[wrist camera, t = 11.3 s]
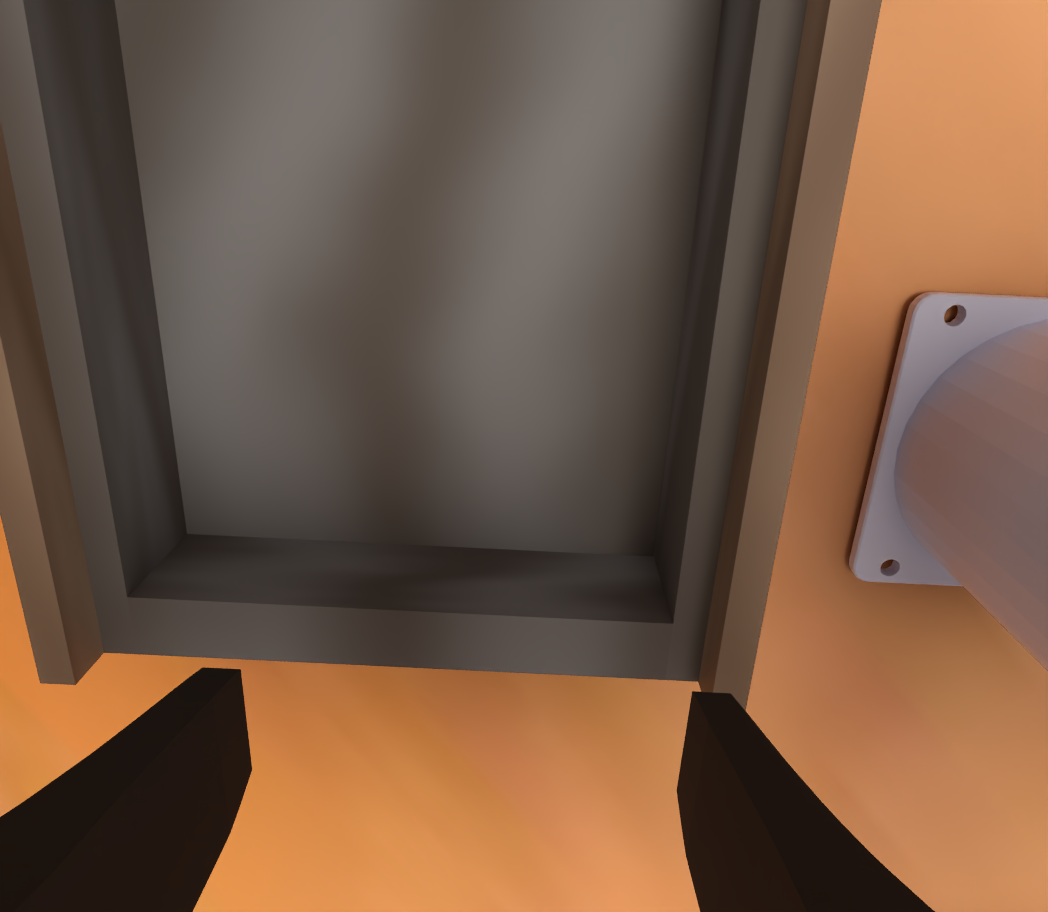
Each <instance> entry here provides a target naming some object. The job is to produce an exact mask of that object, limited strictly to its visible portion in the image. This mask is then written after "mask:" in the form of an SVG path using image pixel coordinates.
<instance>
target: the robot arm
mask: <svg viewBox="0 0 1048 912" xmlns="http://www.w3.org/2000/svg"><path fill="white" fill-rule="evenodd" d="M953 305H956V306H957V307H958V313H957V315H956V317H955V319H953V320H952V321H951V322H948V323H945V321H944V314H945V312H946V311H947V309H948V308H950V307H951V306H953ZM891 559H893V563H892V565H891V566H889V567H888V568H885V569H880V567H881V565H882V564H883V563H884V562H885V561H887V560H891ZM849 567H850V569H851V570H852V572H853V573H854V575H855V576H856V577H857V578H859V579H860V580H862V581H867V582H885V583H905V584H926V585H946V586H963V587H964V588H965V589H966V590H967V591H968V592H969V593H970V594H971V595H972V596H973V597H974V598H975V599H976V600H977V601H978V602H979V603H980V604H981V605H982V606H983V607H984V608H985V609H986V610H987V611H988V612H989V613H990V614H991V615H992V616H993V617H994V618H995V619H996V620H997V621H998V622H999V623H1000V624H1001V625H1002V626H1003V627H1004V628H1005V629H1006V630H1007V631H1008V632H1009V633H1010V634H1011V635H1012V636H1013V637H1014V638H1015V639H1016V640H1017V641H1018V642H1019V643H1020V644H1021V645H1022V646H1023V647H1024V648H1025V649H1026V650H1027V651H1028V652H1029V653H1030V654H1031V655H1032V656H1033V657H1034V658H1035V659H1036V660H1037V661H1038V662H1039V663H1040V664H1041V665H1042V666H1043V667H1044V668H1045V669H1046V670H1047V671H1048V297H1036V296H1015V295H995V294H974V293H954V292H933V291H932V292H925V293H923V294H921V295H919V296H917V297H916V298H915V299H914V300H913V301H912V302H911V304H910V306H909V308H908V311H907V315H906V319H905V323H904V328H903V332H902V336H901V340H900V345H899V349H898V353H897V358H896V362H895V366H894V370H893V375H892V379H891V383H890V387H889V392H888V396H887V400H886V405H885V409H884V413H883V417H882V422H881V426H880V430H879V434H878V439H877V443H876V447H875V452H874V456H873V460H872V464H871V469H870V473H869V477H868V481H867V486H866V490H865V494H864V499H863V503H862V507H861V511H860V516H859V520H858V524H857V528H856V533H855V537H854V541H853V546H852V550H851V554H850V558H849ZM251 771H252V765H251V756H250V747H249V739H248V730H247V721H246V712H245V704H244V695H243V686H242V678H241V669H222V668H201V669H200V670H199V671H197V672H196V673H195V674H193V675H192V676H191V677H189V678H188V679H187V680H185V681H184V682H183V683H182V684H180V685H179V686H178V687H176V688H175V689H174V690H173V691H171V692H170V693H169V694H168V695H166V696H165V697H164V698H163V699H161V700H160V701H159V702H157V703H156V704H155V705H154V706H152V707H151V708H150V709H149V710H147V711H146V712H145V713H144V714H142V715H141V716H140V717H138V718H137V719H136V720H135V721H133V722H132V723H131V724H129V725H128V726H127V727H126V728H124V729H123V730H122V731H120V732H119V733H118V734H116V735H115V736H114V737H112V738H111V739H110V740H109V741H107V742H106V743H105V744H103V745H102V746H101V747H99V748H98V749H97V750H96V751H94V752H93V753H92V754H90V755H89V756H88V757H86V758H85V759H83V760H82V761H80V762H79V763H78V764H76V765H75V766H73V767H72V768H71V769H69V770H68V771H66V772H65V773H64V774H62V775H61V776H59V777H58V778H57V779H55V780H54V781H52V782H51V783H49V784H48V785H47V786H45V787H44V788H42V789H41V790H40V791H38V792H37V793H35V794H34V795H33V796H31V797H30V798H28V799H27V800H25V801H24V802H23V803H21V804H20V805H18V806H16V807H15V808H13V809H12V810H10V811H9V812H7V813H6V814H4V815H3V816H1V817H0V912H193V909H194V907H195V905H196V903H197V901H198V899H199V897H200V895H201V893H202V891H203V889H204V887H205V885H206V883H207V881H208V879H209V877H210V874H211V872H212V870H213V868H214V866H215V864H216V862H217V860H218V858H219V856H220V854H221V852H222V849H223V847H224V845H225V843H226V841H227V839H228V837H229V834H230V832H231V829H232V827H233V824H234V821H235V818H236V815H237V813H238V810H239V807H240V804H241V801H242V798H243V795H244V792H245V789H246V786H247V783H248V780H249V777H250V774H251ZM677 795H678V803H679V810H680V818H681V825H682V832H683V839H684V845H685V852H686V857H687V861H688V865H689V869H690V873H691V877H692V881H693V885H694V889H695V893H696V897H697V901H698V905H699V908H700V912H935V911H933V910H932V909H931V908H930V907H929V906H928V905H927V904H925V903H924V902H923V901H922V900H921V899H920V898H919V897H918V896H917V895H916V894H914V893H913V892H912V891H911V890H910V889H909V888H908V887H907V886H906V885H904V884H903V883H902V882H901V881H900V880H899V879H898V878H897V877H896V876H894V875H893V874H892V873H891V872H890V871H889V870H888V869H887V868H886V867H885V866H884V865H883V864H882V863H881V862H879V861H878V860H877V859H876V858H875V857H874V856H873V855H872V854H871V853H870V852H869V851H868V850H867V849H866V848H865V847H864V846H863V845H862V844H861V843H860V842H859V841H858V840H857V839H856V838H855V837H854V836H853V835H852V834H851V833H850V832H849V830H848V829H847V828H846V827H845V826H844V825H843V824H842V823H841V822H840V821H839V820H838V819H837V818H836V817H835V816H834V815H833V814H832V813H831V811H830V810H829V809H828V808H827V807H826V806H825V805H824V804H823V803H822V802H821V800H820V799H819V798H818V797H817V796H816V795H815V794H814V793H813V791H812V790H811V789H810V788H809V787H808V786H807V785H806V783H805V782H804V781H803V780H802V779H801V778H800V777H799V775H798V774H797V773H796V772H795V771H794V770H793V768H792V767H791V766H790V765H789V764H788V763H787V761H786V760H785V759H784V758H783V757H782V755H781V754H780V753H779V752H778V751H777V749H776V748H775V747H774V746H773V744H772V743H771V742H770V741H769V740H768V738H767V737H766V736H765V735H764V733H763V732H762V731H761V730H760V728H759V727H758V726H757V725H756V723H755V722H754V721H753V720H752V719H751V717H750V716H749V715H748V714H747V712H746V711H745V710H744V709H743V707H742V706H741V705H740V704H739V702H738V701H737V700H736V699H735V698H734V697H733V695H732V694H731V693H714V692H693V691H692V697H691V703H690V710H689V716H688V722H687V729H686V735H685V741H684V748H683V754H682V760H681V767H680V773H679V780H678V786H677Z"/></svg>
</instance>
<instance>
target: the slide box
mask: <svg viewBox="0 0 1048 912" xmlns="http://www.w3.org/2000/svg"><path fill="white" fill-rule="evenodd" d="M881 2H882V0H0V515H1V519H2V523H3V527H4V532H5V536H6V540H7V544H8V549H9V553H10V557H11V561H12V566H13V570H14V574H15V578H16V582H17V587H18V591H19V595H20V599H21V604H22V608H23V612H24V616H25V621H26V625H27V629H28V633H29V638H30V642H31V646H32V650H33V654H34V659H35V663H36V667H37V671H38V676H39V680H40V683H48V684H68V685H76V684H77V683H78V681H79V680H80V679H81V678H82V677H83V676H84V675H85V673H86V672H87V671H88V670H89V669H90V668H91V667H92V666H93V664H94V663H95V662H96V661H97V660H98V659H99V658H100V657H101V655H102V654H103V653H124V654H145V655H165V656H186V657H206V658H227V659H247V660H268V661H288V662H309V663H330V664H350V665H371V666H391V667H412V668H432V669H453V670H473V671H494V672H514V673H535V674H555V675H576V676H596V677H617V678H637V679H658V680H678V681H698V682H699V685H700V688H701V692H714V693H731V694H732V695H733V697H734V698H735V699H736V700H737V701H738V702H739V704H740V705H741V706H742V707H743V709H744V710H746V705H747V700H748V694H749V689H750V684H751V679H752V674H753V668H754V663H755V658H756V653H757V648H758V642H759V637H760V632H761V627H762V622H763V616H764V611H765V606H766V601H767V596H768V590H769V585H770V580H771V575H772V570H773V564H774V559H775V554H776V549H777V543H778V538H779V533H780V528H781V523H782V517H783V512H784V507H785V502H786V497H787V491H788V486H789V481H790V476H791V471H792V465H793V460H794V455H795V450H796V445H797V439H798V434H799V429H800V424H801V418H802V413H803V408H804V403H805V398H806V392H807V387H808V382H809V377H810V372H811V366H812V361H813V356H814V351H815V346H816V340H817V335H818V330H819V325H820V320H821V314H822V309H823V304H824V299H825V294H826V288H827V283H828V278H829V273H830V267H831V262H832V257H833V252H834V247H835V241H836V236H837V231H838V226H839V221H840V215H841V210H842V205H843V200H844V195H845V189H846V184H847V179H848V174H849V169H850V163H851V158H852V153H853V148H854V142H855V137H856V132H857V127H858V122H859V116H860V111H861V106H862V101H863V96H864V90H865V85H866V80H867V75H868V70H869V64H870V59H871V54H872V49H873V44H874V38H875V33H876V28H877V23H878V17H879V12H880V7H881Z"/></svg>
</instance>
